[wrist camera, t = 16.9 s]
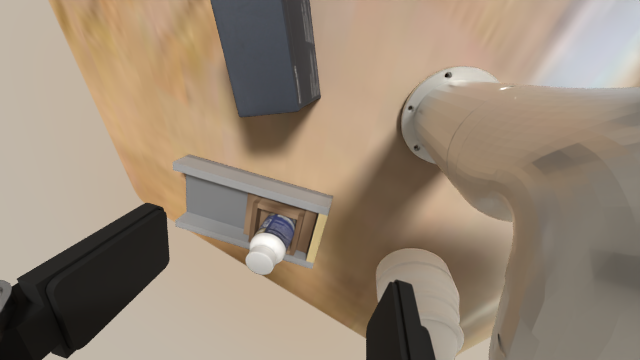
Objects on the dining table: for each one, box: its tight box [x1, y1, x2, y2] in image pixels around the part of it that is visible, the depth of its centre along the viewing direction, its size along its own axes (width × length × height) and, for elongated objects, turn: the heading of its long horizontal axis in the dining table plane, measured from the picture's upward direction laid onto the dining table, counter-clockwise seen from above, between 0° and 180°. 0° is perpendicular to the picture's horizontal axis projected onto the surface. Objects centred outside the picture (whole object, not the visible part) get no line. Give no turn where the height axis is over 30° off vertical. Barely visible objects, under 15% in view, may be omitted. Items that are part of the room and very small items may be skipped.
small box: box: [210, 0, 321, 117], centre depth 27 cm, size 13×7×12 cm, turn 7°
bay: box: [173, 154, 333, 269], centre depth 42 cm, size 26×13×4 cm, turn 77°
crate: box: [243, 192, 318, 256], centre depth 41 cm, size 12×9×4 cm
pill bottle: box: [246, 212, 296, 275], centre depth 36 cm, size 5×5×10 cm
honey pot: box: [376, 248, 464, 360], centre depth 36 cm, size 13×13×18 cm
